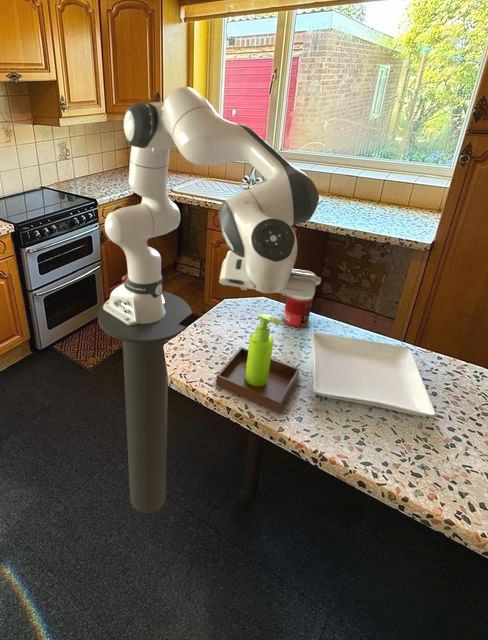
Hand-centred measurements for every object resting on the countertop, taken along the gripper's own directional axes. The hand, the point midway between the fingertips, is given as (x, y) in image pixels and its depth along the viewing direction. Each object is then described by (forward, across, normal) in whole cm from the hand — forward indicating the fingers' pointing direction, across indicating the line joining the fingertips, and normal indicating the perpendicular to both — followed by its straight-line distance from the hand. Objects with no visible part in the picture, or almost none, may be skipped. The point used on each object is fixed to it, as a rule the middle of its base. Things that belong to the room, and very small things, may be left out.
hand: (264, 289), depth 92 cm
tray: (+22, -2, +19) cm, 30 cm away
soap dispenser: (+22, -2, +19) cm, 29 cm away
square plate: (+30, -29, +12) cm, 43 cm away
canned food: (+46, -11, -4) cm, 48 cm away
